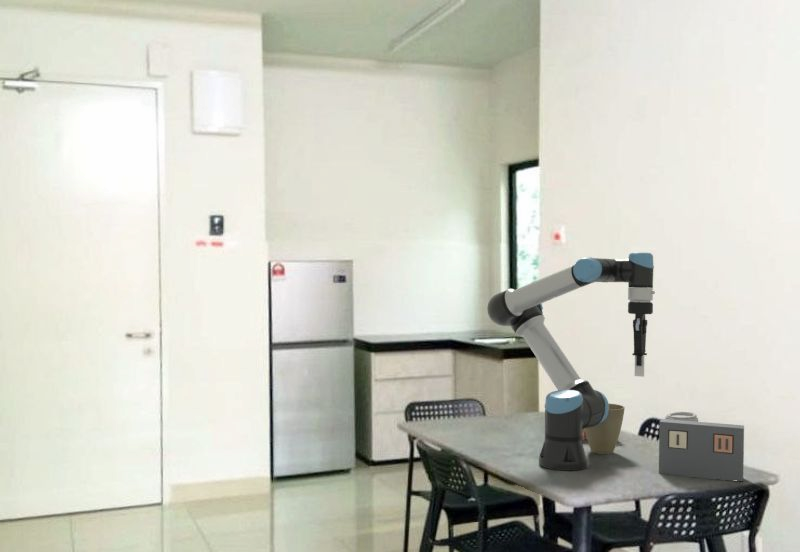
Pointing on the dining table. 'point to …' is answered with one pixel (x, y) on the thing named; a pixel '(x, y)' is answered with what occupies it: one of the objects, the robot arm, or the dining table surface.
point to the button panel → (701, 451)
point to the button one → (678, 439)
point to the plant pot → (606, 431)
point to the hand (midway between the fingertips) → (639, 376)
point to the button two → (723, 443)
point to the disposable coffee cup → (682, 416)
